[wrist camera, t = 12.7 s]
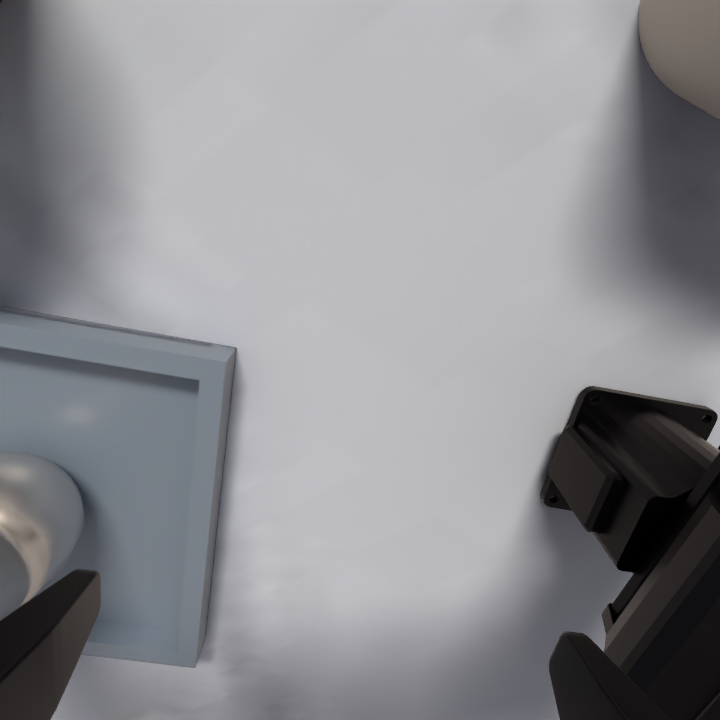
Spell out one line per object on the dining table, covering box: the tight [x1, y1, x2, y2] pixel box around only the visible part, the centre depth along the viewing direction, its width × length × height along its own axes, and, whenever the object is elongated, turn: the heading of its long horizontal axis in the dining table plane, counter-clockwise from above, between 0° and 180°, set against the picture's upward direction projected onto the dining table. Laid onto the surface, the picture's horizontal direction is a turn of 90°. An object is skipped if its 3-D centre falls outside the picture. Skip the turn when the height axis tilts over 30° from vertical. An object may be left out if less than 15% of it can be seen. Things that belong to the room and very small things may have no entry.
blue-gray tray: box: [0, 306, 236, 668], centre depth 22 cm, size 18×18×2 cm
